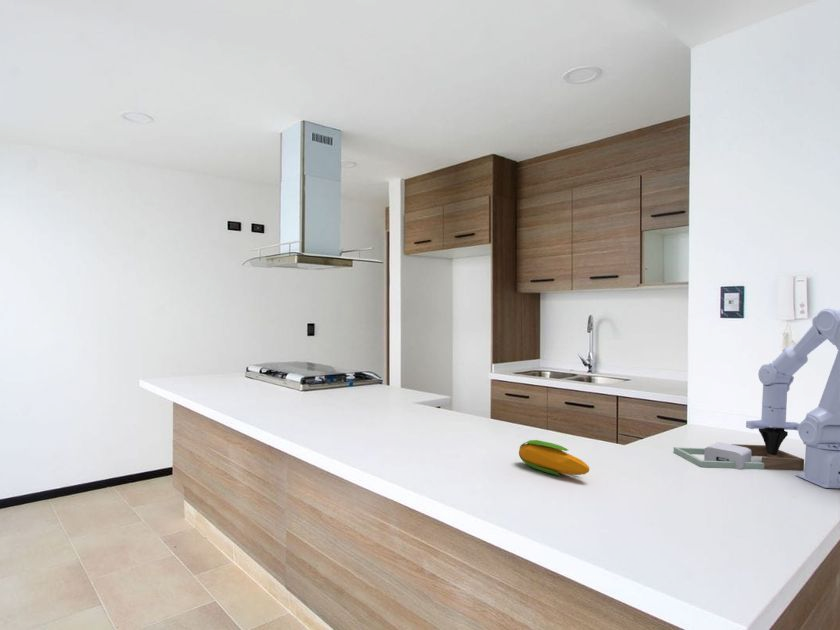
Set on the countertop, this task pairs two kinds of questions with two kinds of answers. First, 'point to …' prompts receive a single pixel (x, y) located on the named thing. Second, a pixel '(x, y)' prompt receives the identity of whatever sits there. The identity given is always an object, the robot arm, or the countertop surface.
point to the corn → (551, 458)
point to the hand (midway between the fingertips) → (771, 454)
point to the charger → (728, 454)
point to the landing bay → (716, 464)
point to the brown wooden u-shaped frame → (776, 458)
